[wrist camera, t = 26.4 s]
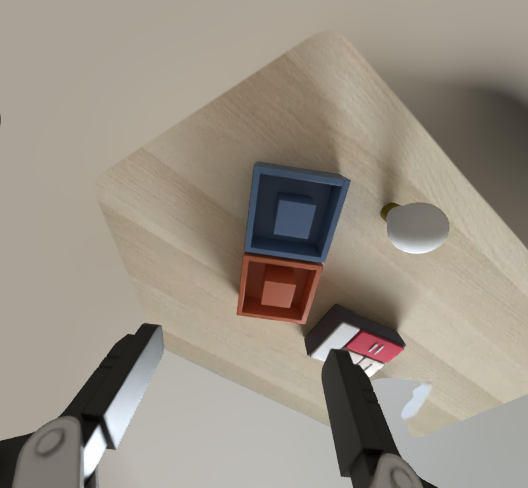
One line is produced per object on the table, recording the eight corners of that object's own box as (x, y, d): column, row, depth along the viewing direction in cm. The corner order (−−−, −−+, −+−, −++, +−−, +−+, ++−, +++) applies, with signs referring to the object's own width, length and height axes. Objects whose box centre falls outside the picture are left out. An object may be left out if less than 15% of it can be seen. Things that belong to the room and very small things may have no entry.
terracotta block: (262, 286, 38) (260, 304, 34) (265, 264, 36) (265, 280, 32) (287, 289, 38) (289, 308, 34) (293, 267, 36) (295, 284, 32)
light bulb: (390, 234, 33) (434, 270, 24) (358, 219, 32) (391, 250, 23) (417, 200, 31) (477, 226, 22) (383, 182, 30) (431, 202, 21)
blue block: (273, 221, 32) (273, 234, 28) (278, 191, 30) (279, 199, 26) (303, 226, 33) (307, 239, 28) (310, 196, 30) (316, 205, 26)
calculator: (369, 380, 44) (307, 359, 40) (360, 360, 47) (303, 339, 44) (410, 349, 39) (343, 322, 36) (396, 329, 43) (335, 303, 39)
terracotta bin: (240, 297, 40) (236, 315, 36) (246, 241, 35) (243, 255, 31) (301, 305, 40) (305, 324, 36) (317, 251, 35) (323, 266, 31)
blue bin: (247, 237, 34) (243, 251, 30) (256, 161, 29) (254, 165, 25) (318, 248, 35) (324, 263, 31) (340, 174, 30) (351, 180, 26)
